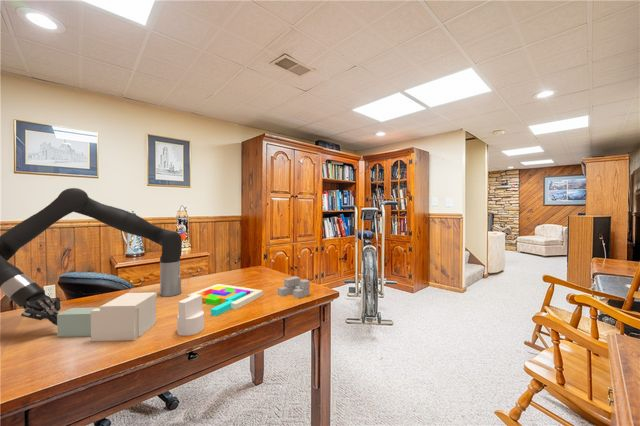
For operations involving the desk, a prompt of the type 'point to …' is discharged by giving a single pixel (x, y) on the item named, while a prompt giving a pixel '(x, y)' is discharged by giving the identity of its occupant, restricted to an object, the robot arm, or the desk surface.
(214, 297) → the puzzle game
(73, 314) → the pale sage rectangular prism
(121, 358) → the desk surface
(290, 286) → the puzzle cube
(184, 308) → the cylinder with rectangular tab
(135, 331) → the cream slotted block
